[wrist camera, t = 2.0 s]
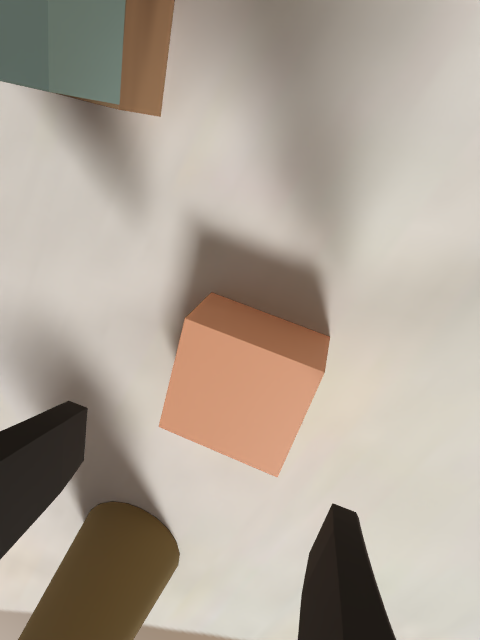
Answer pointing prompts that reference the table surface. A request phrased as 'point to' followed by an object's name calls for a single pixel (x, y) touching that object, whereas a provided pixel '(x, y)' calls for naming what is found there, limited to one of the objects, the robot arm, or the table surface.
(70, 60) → the teal slab
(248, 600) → the table surface
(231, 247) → the table surface
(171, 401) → the orange block
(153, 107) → the walnut slab
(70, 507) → the table surface
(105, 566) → the olive upright rounded piece
